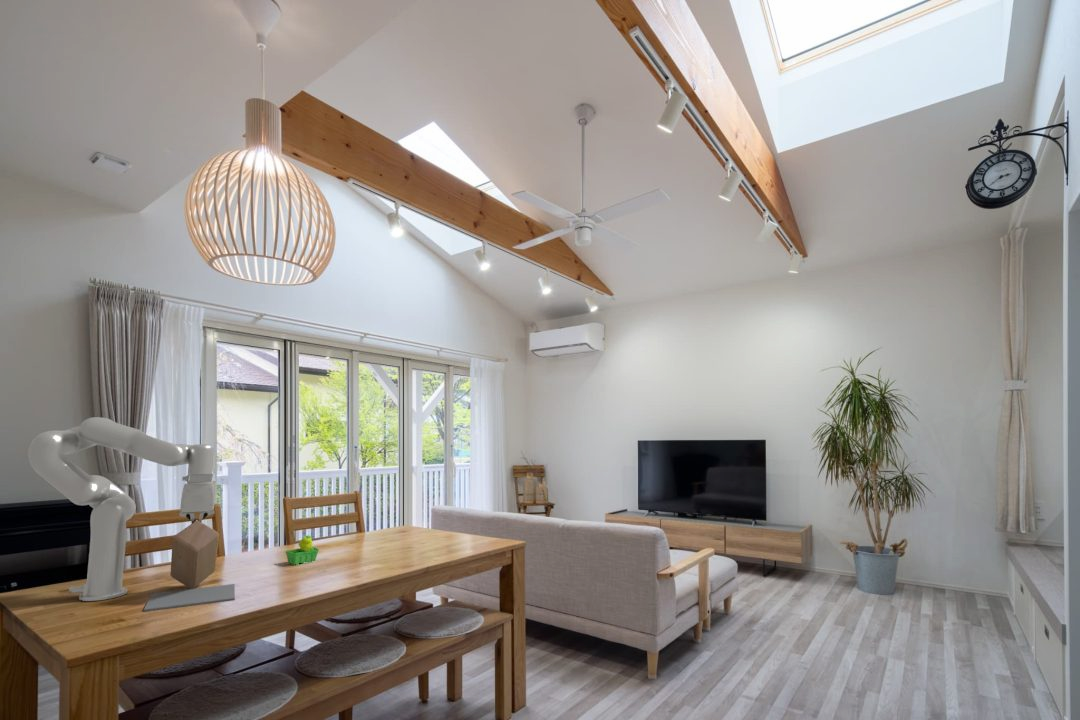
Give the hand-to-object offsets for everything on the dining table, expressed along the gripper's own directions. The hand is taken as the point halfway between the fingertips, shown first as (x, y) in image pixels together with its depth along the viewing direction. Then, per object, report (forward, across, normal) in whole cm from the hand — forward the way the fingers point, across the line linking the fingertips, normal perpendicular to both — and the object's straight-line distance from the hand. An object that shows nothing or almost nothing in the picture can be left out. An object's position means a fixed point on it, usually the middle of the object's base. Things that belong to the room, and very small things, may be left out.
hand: (195, 532), depth 197 cm
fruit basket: (+19, +38, +23) cm, 48 cm away
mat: (+19, +1, -14) cm, 23 cm away
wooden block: (+14, 0, +2) cm, 15 cm away
